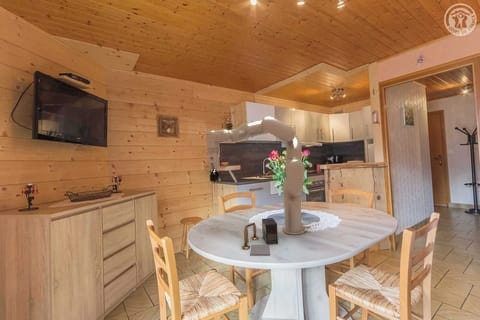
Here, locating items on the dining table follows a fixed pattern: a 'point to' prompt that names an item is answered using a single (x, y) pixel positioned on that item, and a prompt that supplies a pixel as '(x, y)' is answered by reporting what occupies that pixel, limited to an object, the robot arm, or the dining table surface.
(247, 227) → the bent rod
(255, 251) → the rubber pad
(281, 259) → the dining table surface
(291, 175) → the robot arm
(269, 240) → the small box
